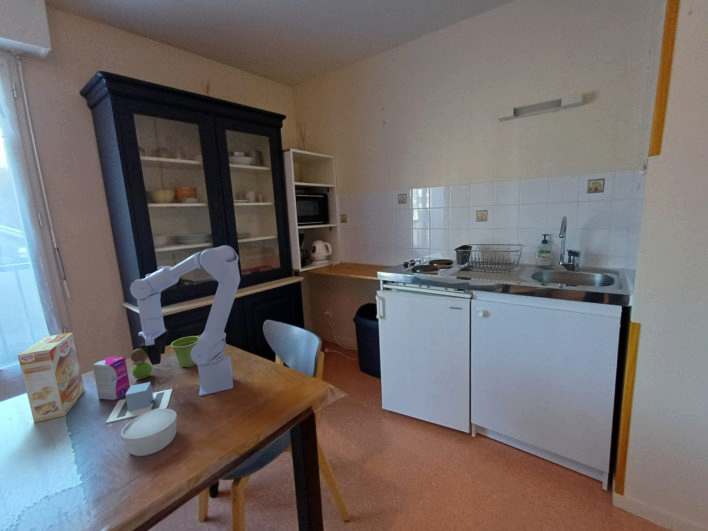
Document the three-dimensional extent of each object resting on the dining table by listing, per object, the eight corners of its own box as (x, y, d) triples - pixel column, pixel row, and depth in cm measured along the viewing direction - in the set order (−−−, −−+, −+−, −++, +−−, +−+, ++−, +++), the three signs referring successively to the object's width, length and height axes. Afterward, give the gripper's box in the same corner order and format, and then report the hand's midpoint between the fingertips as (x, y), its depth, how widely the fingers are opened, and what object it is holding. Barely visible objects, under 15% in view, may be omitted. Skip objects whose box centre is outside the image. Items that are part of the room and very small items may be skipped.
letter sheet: (172, 389, 99) (172, 388, 99) (166, 409, 89) (166, 408, 89) (118, 401, 94) (118, 400, 94) (106, 423, 84) (105, 422, 84)
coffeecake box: (65, 416, 88) (50, 349, 85) (32, 423, 86) (15, 355, 83) (86, 389, 102) (73, 331, 99) (57, 395, 99) (44, 336, 96)
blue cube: (153, 397, 95) (150, 381, 94) (149, 406, 90) (146, 390, 89) (133, 401, 93) (130, 386, 92) (128, 411, 88) (125, 394, 87)
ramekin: (127, 437, 78) (123, 418, 77) (179, 421, 83) (176, 402, 83) (121, 468, 68) (117, 446, 68) (180, 447, 74) (177, 426, 73)
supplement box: (114, 401, 94) (107, 365, 92) (98, 400, 95) (90, 364, 93) (131, 390, 100) (125, 356, 98) (116, 389, 101) (109, 355, 99)
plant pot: (208, 362, 117) (204, 339, 115) (180, 372, 110) (176, 349, 108) (196, 355, 123) (193, 334, 121) (170, 365, 116) (166, 342, 114)
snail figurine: (159, 374, 109) (153, 341, 107) (138, 383, 104) (132, 348, 102) (151, 371, 112) (145, 338, 110) (130, 379, 107) (124, 345, 105)
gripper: (141, 312, 103) (148, 352, 105) (129, 326, 89) (137, 371, 92) (166, 309, 105) (173, 348, 107) (158, 322, 92) (166, 366, 94)
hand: (158, 358), depth 100 cm, fingers open, 7 cm apart
